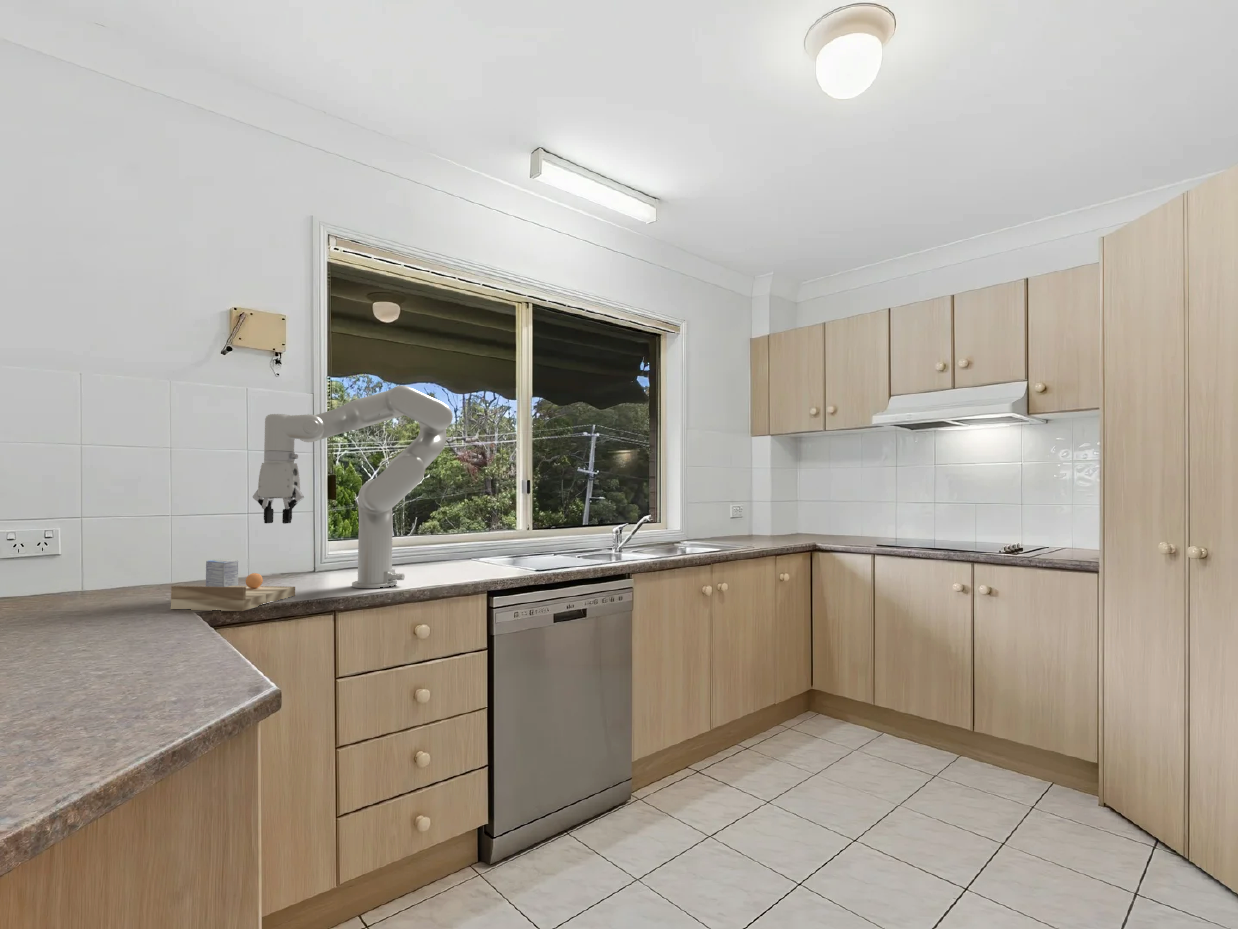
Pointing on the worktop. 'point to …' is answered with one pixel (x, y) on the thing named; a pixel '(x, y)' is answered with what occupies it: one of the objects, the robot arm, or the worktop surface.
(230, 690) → the worktop surface
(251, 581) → the ball
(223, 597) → the board
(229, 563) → the medicine box
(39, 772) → the worktop surface
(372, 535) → the robot arm
